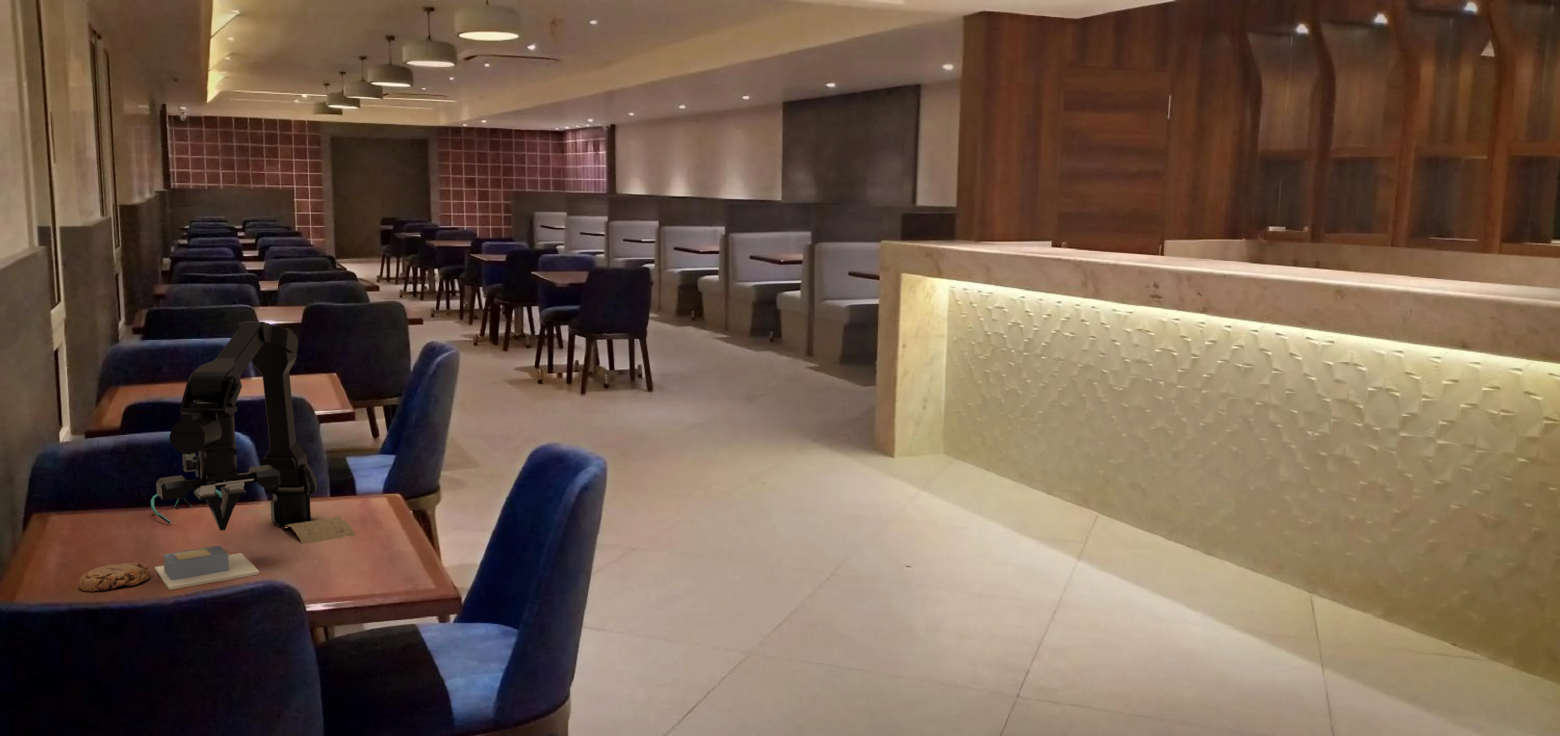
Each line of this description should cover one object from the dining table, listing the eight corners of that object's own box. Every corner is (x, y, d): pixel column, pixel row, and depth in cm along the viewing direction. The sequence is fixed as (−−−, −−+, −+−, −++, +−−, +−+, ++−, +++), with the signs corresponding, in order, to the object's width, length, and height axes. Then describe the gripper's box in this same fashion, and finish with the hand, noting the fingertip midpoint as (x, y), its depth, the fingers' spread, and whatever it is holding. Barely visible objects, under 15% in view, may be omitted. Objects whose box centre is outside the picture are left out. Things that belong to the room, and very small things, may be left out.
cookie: (65, 589, 190) (64, 572, 190) (123, 571, 200) (122, 554, 200) (107, 597, 187) (106, 580, 186) (164, 578, 196) (163, 561, 196)
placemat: (241, 555, 209) (241, 552, 208) (259, 573, 198) (259, 571, 198) (155, 569, 200) (154, 566, 200) (169, 589, 190) (169, 586, 190)
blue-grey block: (220, 544, 203) (163, 553, 197) (228, 553, 198) (169, 562, 193) (221, 561, 203) (164, 571, 198) (229, 570, 199) (171, 580, 193)
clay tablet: (356, 538, 222) (356, 525, 221) (303, 548, 215) (302, 534, 215) (330, 522, 233) (330, 509, 232) (278, 531, 226) (278, 518, 226)
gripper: (262, 428, 210) (267, 511, 212) (147, 440, 198) (153, 528, 200) (279, 438, 201) (283, 525, 203) (159, 451, 190) (165, 543, 192)
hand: (222, 529), depth 200 cm, fingers closed
